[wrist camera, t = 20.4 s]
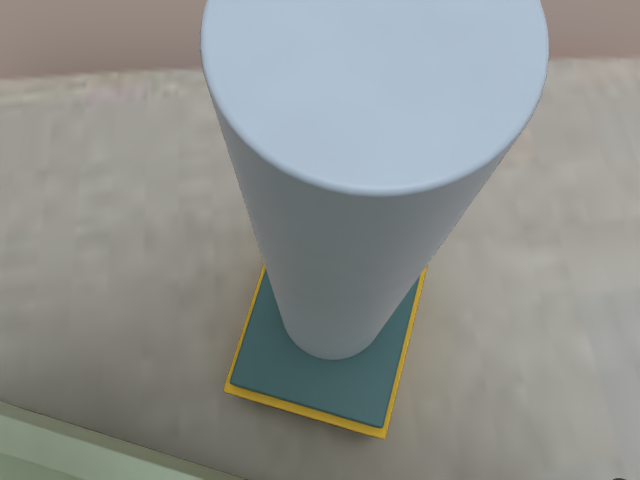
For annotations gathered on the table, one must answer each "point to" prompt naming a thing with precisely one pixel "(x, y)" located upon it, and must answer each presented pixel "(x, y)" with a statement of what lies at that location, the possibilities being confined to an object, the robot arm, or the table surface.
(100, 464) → the tray
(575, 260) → the table surface
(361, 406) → the rubber stamp
